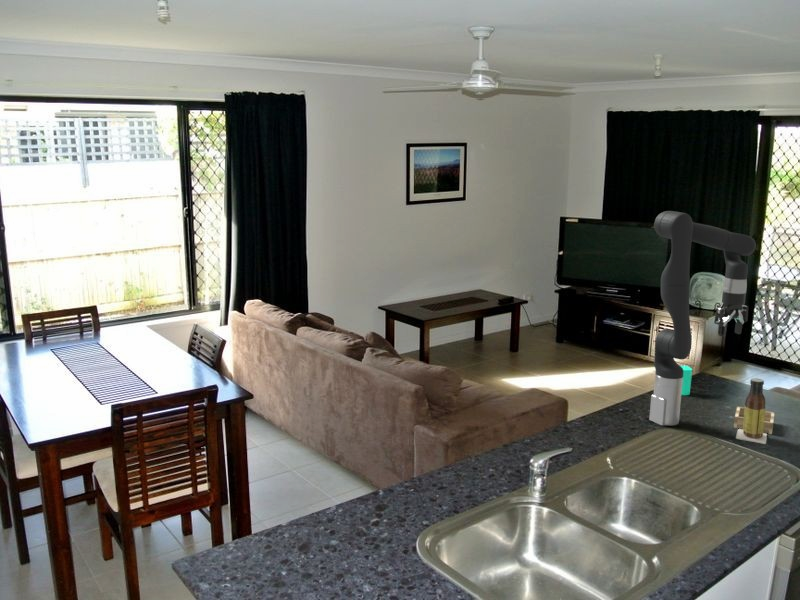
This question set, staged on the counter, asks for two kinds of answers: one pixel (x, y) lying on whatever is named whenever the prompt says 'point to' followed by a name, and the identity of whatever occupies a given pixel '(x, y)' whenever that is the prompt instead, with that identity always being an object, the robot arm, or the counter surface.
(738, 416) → the wooden tray
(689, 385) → the turquoise rectangular block
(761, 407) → the sauce bottle
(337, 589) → the counter surface
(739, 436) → the coaster mat
